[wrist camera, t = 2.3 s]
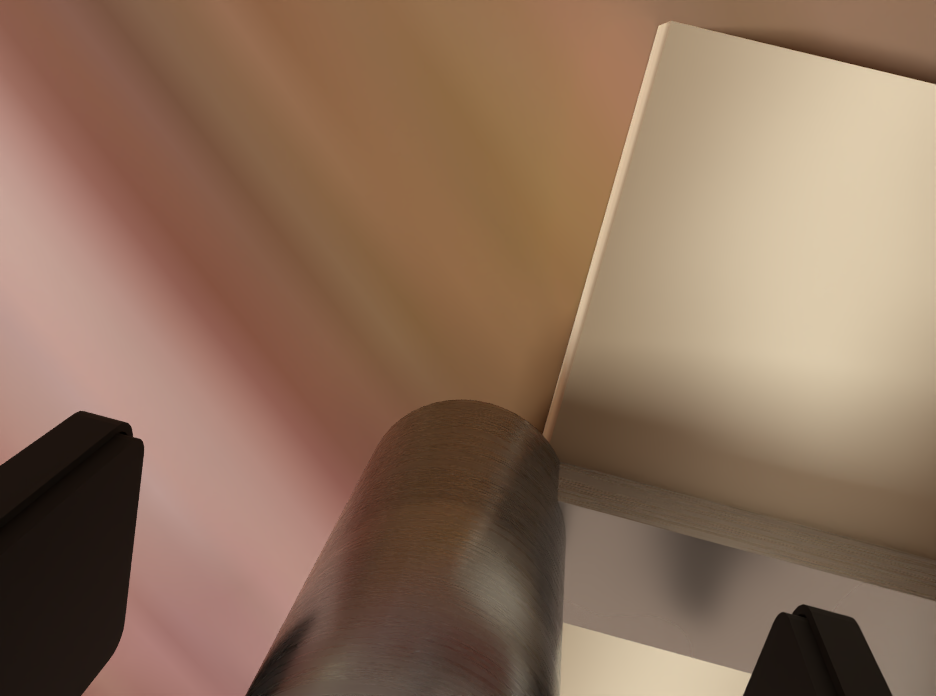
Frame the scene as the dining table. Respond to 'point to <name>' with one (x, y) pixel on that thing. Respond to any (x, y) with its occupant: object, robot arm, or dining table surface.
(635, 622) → the slider
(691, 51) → the tunnel
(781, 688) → the robot arm
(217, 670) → the dining table surface
